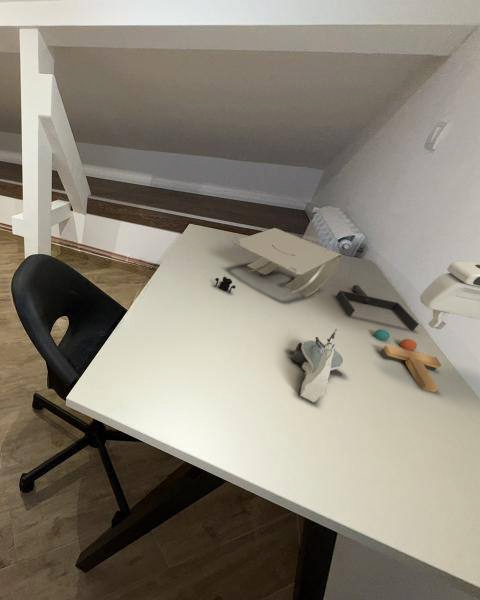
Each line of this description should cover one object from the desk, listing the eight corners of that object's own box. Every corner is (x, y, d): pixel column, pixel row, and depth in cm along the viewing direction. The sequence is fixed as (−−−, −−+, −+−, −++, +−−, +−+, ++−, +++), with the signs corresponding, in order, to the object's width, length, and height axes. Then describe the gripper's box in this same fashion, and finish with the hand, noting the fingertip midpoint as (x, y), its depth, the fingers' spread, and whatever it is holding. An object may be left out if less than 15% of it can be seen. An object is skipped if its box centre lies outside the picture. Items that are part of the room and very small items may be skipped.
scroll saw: (366, 383, 59) (298, 354, 64) (336, 418, 65) (276, 388, 70) (366, 334, 72) (310, 313, 78) (341, 367, 78) (291, 345, 84)
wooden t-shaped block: (427, 364, 81) (436, 357, 79) (450, 402, 73) (461, 395, 71) (378, 352, 84) (385, 344, 82) (395, 387, 75) (404, 380, 73)
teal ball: (382, 337, 90) (389, 329, 88) (387, 344, 88) (394, 335, 86) (369, 334, 91) (376, 326, 89) (374, 341, 88) (381, 332, 87)
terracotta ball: (408, 347, 87) (416, 338, 86) (414, 354, 85) (422, 345, 83) (394, 344, 88) (402, 335, 86) (400, 351, 86) (408, 342, 84)
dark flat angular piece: (411, 332, 94) (419, 324, 92) (347, 317, 98) (353, 309, 96) (379, 296, 112) (384, 288, 110) (326, 284, 116) (330, 277, 114)
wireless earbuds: (211, 287, 107) (216, 274, 104) (215, 284, 109) (220, 272, 106) (231, 296, 103) (236, 283, 100) (234, 293, 105) (240, 280, 102)
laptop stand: (323, 294, 109) (348, 254, 101) (282, 307, 100) (305, 264, 91) (261, 262, 128) (277, 226, 119) (220, 270, 118) (235, 232, 110)
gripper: (567, 284, 61) (507, 337, 69) (442, 261, 66) (399, 313, 74) (599, 300, 56) (531, 356, 64) (461, 273, 61) (413, 328, 69)
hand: (459, 332), depth 69 cm, fingers open, 8 cm apart
